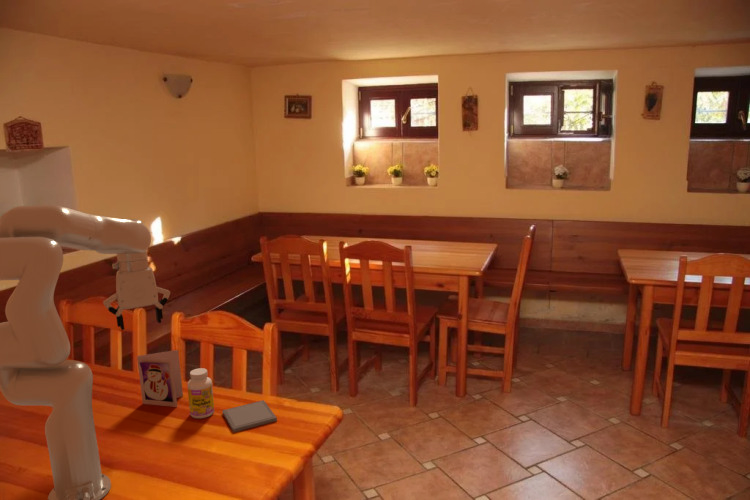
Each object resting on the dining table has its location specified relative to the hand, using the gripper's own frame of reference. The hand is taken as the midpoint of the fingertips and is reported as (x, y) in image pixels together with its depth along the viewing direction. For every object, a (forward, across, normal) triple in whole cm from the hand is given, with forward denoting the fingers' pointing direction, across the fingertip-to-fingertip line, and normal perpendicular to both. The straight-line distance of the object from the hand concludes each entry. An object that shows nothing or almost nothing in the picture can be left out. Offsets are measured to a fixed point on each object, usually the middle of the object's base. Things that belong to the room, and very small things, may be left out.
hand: (140, 325), depth 165 cm
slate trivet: (+26, +23, -19) cm, 40 cm away
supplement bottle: (+27, +12, -9) cm, 31 cm away
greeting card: (+27, +5, +5) cm, 28 cm away
